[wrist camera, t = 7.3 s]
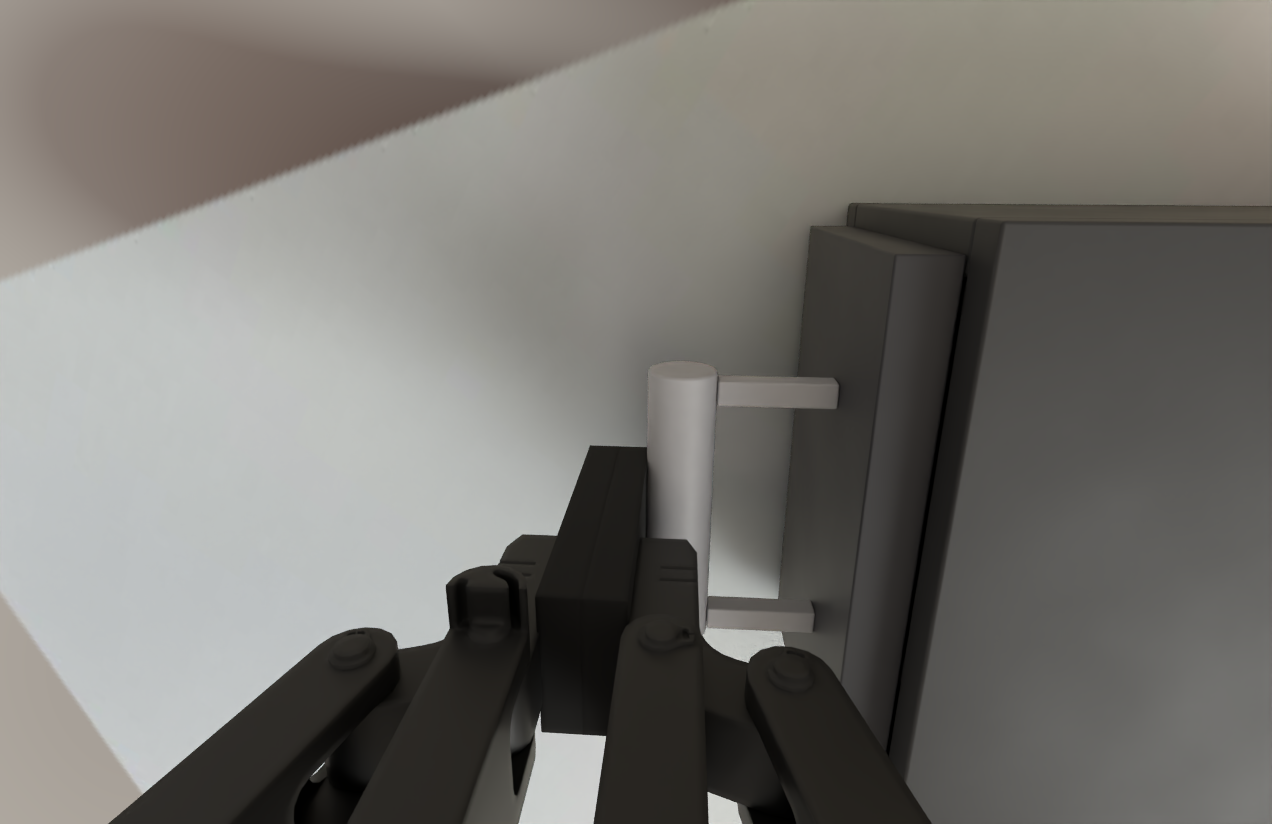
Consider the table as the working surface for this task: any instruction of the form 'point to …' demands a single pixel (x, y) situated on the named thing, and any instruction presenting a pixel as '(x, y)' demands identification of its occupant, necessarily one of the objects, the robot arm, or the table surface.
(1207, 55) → the table surface
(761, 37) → the table surface
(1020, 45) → the table surface
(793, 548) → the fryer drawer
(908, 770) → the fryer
